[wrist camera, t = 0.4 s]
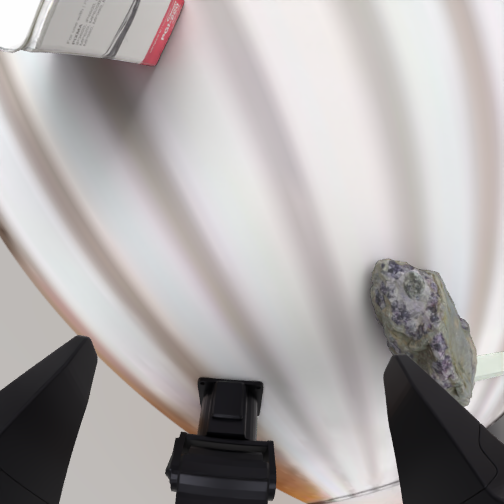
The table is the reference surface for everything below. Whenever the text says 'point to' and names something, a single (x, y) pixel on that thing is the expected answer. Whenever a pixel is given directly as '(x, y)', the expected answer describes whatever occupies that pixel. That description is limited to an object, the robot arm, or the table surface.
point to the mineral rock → (425, 325)
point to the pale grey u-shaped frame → (489, 366)
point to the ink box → (89, 27)
